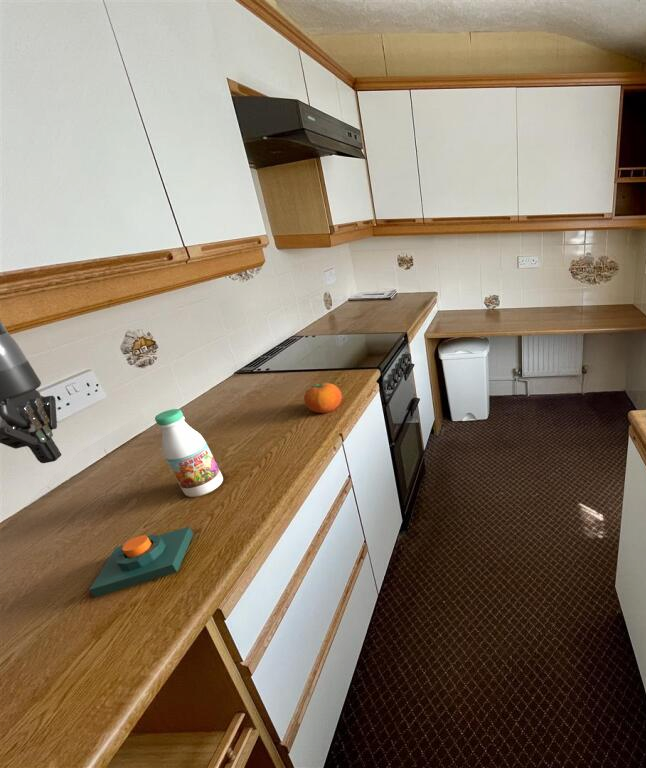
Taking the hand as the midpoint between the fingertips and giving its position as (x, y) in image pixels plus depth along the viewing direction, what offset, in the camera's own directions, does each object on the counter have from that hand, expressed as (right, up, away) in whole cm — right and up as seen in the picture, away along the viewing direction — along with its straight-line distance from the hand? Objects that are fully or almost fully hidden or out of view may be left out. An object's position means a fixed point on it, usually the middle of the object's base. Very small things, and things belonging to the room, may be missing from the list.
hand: (51, 459), depth 69 cm
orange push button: (+10, -17, +5) cm, 21 cm away
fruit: (+20, +5, +58) cm, 62 cm away
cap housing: (+10, -21, +7) cm, 24 cm away
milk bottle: (+6, -12, +27) cm, 30 cm away
